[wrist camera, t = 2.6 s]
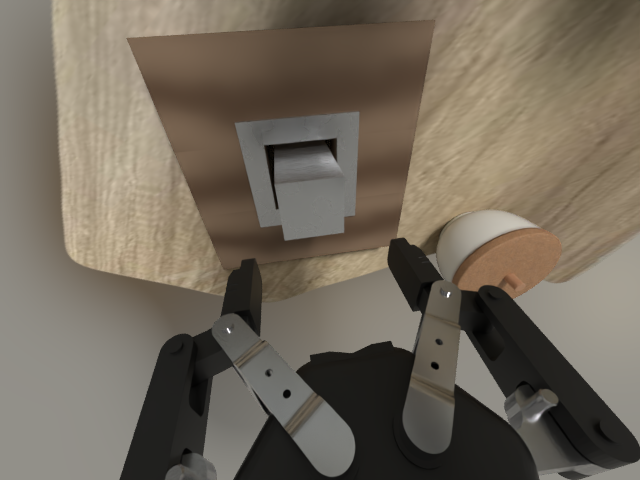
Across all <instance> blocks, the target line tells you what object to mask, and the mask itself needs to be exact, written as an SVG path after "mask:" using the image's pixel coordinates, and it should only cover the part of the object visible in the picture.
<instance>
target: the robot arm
mask: <svg viewBox="0 0 640 480" xmlns="http://www.w3.org/2000/svg"><path fill="white" fill-rule="evenodd" d="M387 260H388V266H389V268H390V270H391V272H392V274H393V276H394V278H395V280H396V281H397V283H398V285H399V287H400V289H401V291H402V292H403V294H404V296H405V298H406V300H407V301H408V304H409V305H410V307H411V309H412V311H413V312H414V311H421V313H422V317H421V320H420V324H419V328H418V332H417V336H416V340H415V344H414V347H413V350H412V352H409V351H407V350H405V349H402V348H397V347H393V345H392V342H391V341H387V342H382V343H376V344H371V345H369V346H367V347H365V348H363V349H361V350H359V351H356V352H354V353H342V352H326V353H320V354H314V355H310V360H311V361H310V362H308V363H306V364H305V365H303V366H302V367H300V368H299V369H298V370H297V371H296V372H295V371H294V370H293V369H292V368H291V367H290V366H289V365H288V363H287V362H286V361H285V360H284V359H283V358H282V357H281V356H280V355H279V354H278V353H277V352H276V351H275V350H274V349H273V347H272V346H271V345H270V344H269V343H268V342H267V341H262V340H261V339H260V338H259V337H260V325H261V303H262V279H261V275H260V271H259V268H258V264H257V261H256V258H251V259H244V260H242V261H241V267H240V269H238V270H233V272H232V273H231V274H230V276H229V277H228V282H227V287H226V293H225V297H224V302H223V307H222V312H221V317H220V318H219V319H218V320H217V321H216V322H215V323H214V325H213V327H212V328H211V329H209V330H208V331H205V332H203V333H201V334H199V335H197V336H194V337H191V336H190V335H188V334H179V335H176V336H174V337H172V338H171V339H169V340H168V341H167V342H166V343H165V344H164V345H163V347H162V348H161V350H160V353H159V356H158V359H157V363H156V366H155V369H154V372H153V375H152V379H151V382H150V385H149V388H148V391H147V394H146V398H145V401H144V404H143V407H142V410H141V413H140V416H139V420H138V423H137V427H136V429H135V432H134V436H133V439H132V442H131V445H130V449H129V451H128V455H127V458H126V461H125V464H124V468H123V471H122V474H121V477H120V480H217V474H216V470H215V467H214V465H213V464H212V463H211V462H209V461H208V460H207V459H205V458H204V457H203V450H204V443H205V435H206V427H207V419H208V411H209V403H210V395H211V387H212V379H213V376H214V375H216V374H218V373H220V372H222V371H224V370H226V369H228V368H230V367H232V368H233V369H234V371H235V372H236V373H237V375H238V376H239V377H240V379H241V380H242V381H243V383H244V384H245V386H246V387H247V388H248V389H249V391H250V392H251V394H252V395H253V397H254V398H255V400H256V401H257V403H258V404H259V406H260V407H261V408H262V410H263V411H264V412H265V414H266V415H267V416H268V419H267V421H266V422H265V424H264V426H263V428H262V430H261V431H260V433H259V435H258V437H257V438H256V440H255V442H254V444H253V445H252V447H251V449H250V451H249V452H248V454H247V456H246V458H245V460H244V461H243V463H242V465H241V467H240V469H239V470H238V472H237V474H236V476H235V478H234V479H233V480H539V475H544V474H552V473H558V474H559V475H561V476H563V477H565V478H567V479H571V480H579V479H582V478H585V477H589V476H592V475H595V474H598V473H602V472H605V471H608V470H611V469H615V468H618V467H621V466H624V465H628V464H630V463H634V462H637V461H638V460H639V459H640V446H639V444H638V442H637V440H636V438H635V437H634V436H633V434H632V433H631V432H630V431H629V429H628V428H627V427H626V426H625V425H624V424H623V423H622V422H621V420H620V419H619V418H618V417H617V416H616V415H615V414H614V413H613V412H612V410H611V409H610V408H609V407H608V406H607V405H606V404H605V402H604V401H603V400H602V399H601V398H600V397H599V396H598V395H597V393H596V392H595V391H594V390H593V389H592V388H591V387H590V386H589V384H588V383H587V382H586V381H585V380H584V379H583V378H582V377H581V375H580V374H579V373H578V372H577V371H576V370H575V369H574V368H573V367H572V365H571V364H570V363H569V362H568V361H567V360H566V359H565V358H564V357H563V355H562V354H561V353H560V352H559V351H558V350H557V349H556V347H555V346H554V345H553V344H552V343H551V342H550V341H549V340H548V338H547V337H546V336H545V335H544V334H543V333H542V332H541V331H540V329H539V328H538V327H537V326H536V325H535V324H534V323H533V322H532V320H531V319H530V318H529V317H528V316H527V315H526V314H525V313H524V311H523V310H522V309H521V308H520V307H519V306H518V305H517V304H516V302H515V301H514V300H513V299H512V298H511V297H510V296H509V295H508V294H507V293H506V292H505V291H504V290H502V289H501V288H499V287H496V286H493V285H483V286H481V287H480V288H479V290H478V292H477V291H468V290H460V289H459V288H458V287H457V286H456V285H455V284H453V283H451V282H449V281H445V280H444V279H443V278H442V277H441V276H440V274H439V273H438V271H437V270H436V269H435V267H434V266H433V265H432V263H431V262H430V261H429V259H428V258H427V257H426V255H425V254H424V253H423V251H422V250H421V249H420V248H418V247H417V246H415V245H410V244H409V243H408V242H407V240H406V239H405V238H397V239H391V241H390V246H389V252H388V259H387ZM460 330H464V331H465V332H466V334H467V335H468V337H469V339H470V340H471V342H472V344H473V345H474V347H475V348H476V350H477V352H478V353H479V355H480V357H481V358H482V360H483V361H484V363H485V365H486V366H487V368H488V369H489V371H490V373H491V374H492V376H493V377H494V379H495V381H496V382H497V384H498V386H499V387H500V389H501V391H502V392H503V394H504V395H505V397H506V400H505V403H504V408H505V412H506V414H507V416H508V421H509V423H510V424H508V423H507V422H506V421H505V420H503V418H501V417H500V416H499V415H497V414H496V413H494V412H493V411H492V410H490V409H489V408H488V407H486V406H485V405H484V404H482V403H481V402H479V401H478V400H477V399H475V398H474V397H473V396H471V395H470V394H469V393H467V392H466V391H464V390H463V389H462V388H460V387H459V386H458V385H456V384H455V377H456V368H457V358H458V349H459V340H460Z"/></svg>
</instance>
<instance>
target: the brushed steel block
mask: <svg viewBox="0 0 640 480" xmlns="http://www.w3.org/2000/svg"><path fill="white" fill-rule="evenodd" d="M274 178H275V190H276V195H277V201H278V206H279V212H280V217H281V223H282V228H283V234H284V239H285V240H293V239H300V238H308V237H315V236H323V235H330V234H338V233H344V197H345V176H344V174H343V173H342V171H341V169H340V167H339V166H338V164H337V162H336V160H335V158H334V157H333V155H332V153H331V151H330V150H329V148H328V146H327V144H326V142H325V141H324V139H322V140H312V141H302V142H292V143H282V144H274Z"/></svg>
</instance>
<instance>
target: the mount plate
mask: <svg viewBox="0 0 640 480" xmlns="http://www.w3.org/2000/svg"><path fill="white" fill-rule="evenodd" d="M434 25H435V20H423V21H406V22H389V23H372V24H356V25H339V26H322V27H305V28H289V29H272V30H255V31H238V32H221V33H205V34H188V35H171V36H154V37H137V38H127V40H128V43H129V45H130V47H131V50H132V52H133V55H134V57H135V59H136V62H137V64H138V67H139V69H140V71H141V74H142V76H143V78H144V81H145V83H146V86H147V88H148V90H149V93H150V95H151V98H152V100H153V102H154V105H155V107H156V109H157V112H158V114H159V117H160V119H161V121H162V124H163V126H164V129H165V131H166V133H167V136H168V138H169V140H170V143H171V145H172V148H173V150H174V152H175V155H176V157H177V160H178V162H179V164H180V167H181V169H182V171H183V174H184V176H185V179H186V181H187V183H188V186H189V188H190V191H191V193H192V195H193V198H194V200H195V202H196V205H197V207H198V210H199V212H200V214H201V217H202V219H203V222H204V224H205V226H206V229H207V231H208V233H209V236H210V238H211V241H212V243H213V245H214V248H215V250H216V253H217V255H218V257H219V260H220V262H221V265H222V267H223V269H230V268H237V267H241V261H242V260H244V259H251V258H256V261H257V264H265V263H272V262H279V261H286V260H294V259H301V258H308V257H315V256H322V255H329V254H336V253H343V252H350V251H357V250H364V249H371V248H378V247H386V246H390V241H391V239H396V237H397V232H398V226H399V220H400V215H401V209H402V204H403V198H404V193H405V187H406V181H407V176H408V170H409V165H410V159H411V154H412V148H413V142H414V137H415V131H416V126H417V120H418V115H419V109H420V103H421V98H422V92H423V87H424V81H425V76H426V70H427V64H428V59H429V53H430V48H431V42H432V37H433V31H434ZM322 139H330V142H331V153H332V155H333V157H334V158H335V160H336V162H337V164H338V166H339V167H340V169H341V171H342V173H343V174H344V176H345V197H344V233H338V234H330V235H323V236H315V237H308V238H300V239H293V240H285V239H284V234H283V228H282V223H281V217H280V212H279V206H278V201H277V195H276V194H275V188H274V183H273V177H272V172H271V166H270V161H269V155H268V150H267V145H272V144H282V143H292V142H302V141H312V140H322Z"/></svg>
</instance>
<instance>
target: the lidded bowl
mask: <svg viewBox="0 0 640 480" xmlns="http://www.w3.org/2000/svg"><path fill="white" fill-rule="evenodd" d="M561 251H562V248H561V243H560V241H559V239H558V238H557V237H556V236H555V235H553V234H552V233H550V232H548V231H546V230H544V229H541V228H540V227H538V226H537V225H535V224H533V223H532V222H530V221H528V220H526V219H524V218H522V217H520V216H518V215H515V214H513V213H510V212H506V211H501V210H479V211H472V212H466V213H463V214H460V215H458V216H457V217H455V218H453V219H452V220H451V221H450V222H448V223H447V224H446V226H445V227H444V228H443V229H442V231H441V233H440V236H439V241H438V244H437V249H436V258H437V263H438V267H439V269H440V272H441V274H442V275H443V277H444V279H445V281H449V282H451V283H453V284H455V285H456V286H457V287H458V288H459V289H460V290H468V291H477V292H478V290H479V288H480V287H481V286H483V285H493V286H496V287H499V288H501V289H502V290H504V291H505V292H506V293H507V294H508V295H509V296H510V297H511V298H512V299H514V298H516V297H518V296H520V295H521V294H523V293H525V292H527V291H528V290H529V289H531V288H533V287H534V286H535V285H537V284H538V283H539V282H540V281H542V280H543V279H544V278H545V277H546V276H547V275H548V274H549V273H550V272H551V271H552V269H553V268H554V267H555V265H556V264H557V262H558V260H559V258H560V256H561Z"/></svg>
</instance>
